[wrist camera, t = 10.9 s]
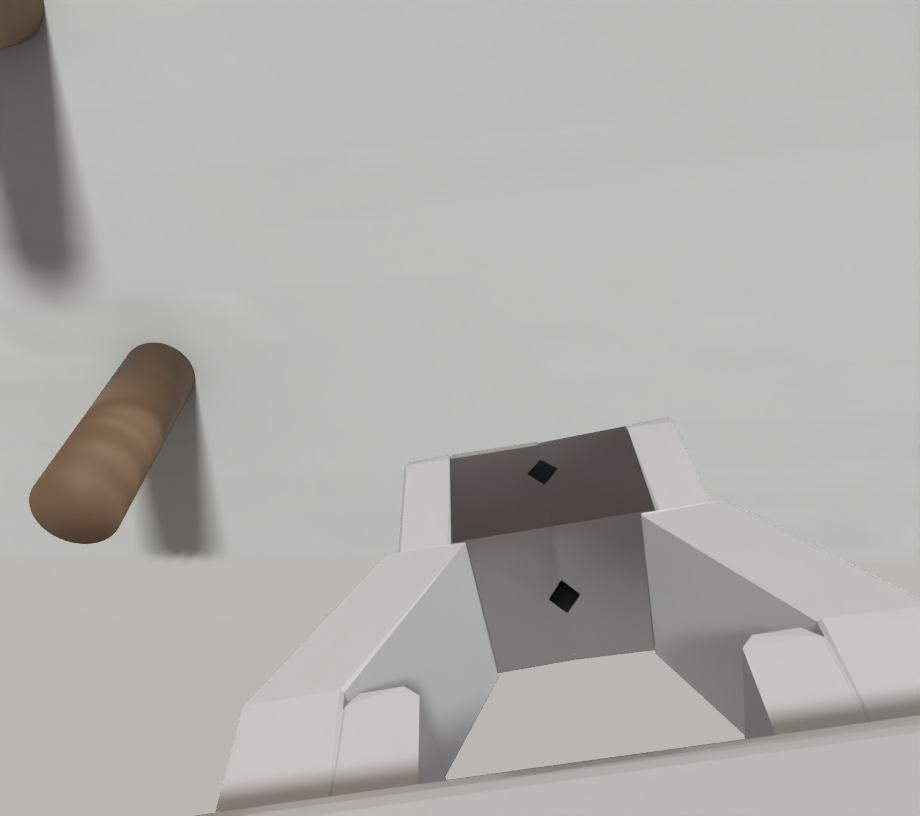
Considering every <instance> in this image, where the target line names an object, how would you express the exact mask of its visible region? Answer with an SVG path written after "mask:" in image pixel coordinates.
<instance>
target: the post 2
mask: <svg viewBox="0 0 920 816" xmlns="http://www.w3.org/2000/svg"><path fill="white" fill-rule="evenodd" d="M194 381H195V375H194V371H193V368H192V366H191V364H190V362H189V361H188V359H187V358H186V357H185V356H184V355H183V354H182V353H181V352H179V351H178V350H176V349H175V348H173V347H171V346H168V345H165V344H161V343H146V344H142V345H140V346H138V347H136V348H134V349H133V350H132V351H131V352H130V353H129V354H128V356H127V357H126V358H125V360H124V361H123V363H122V364H121V365H120V367H119V368H118V370H117V371H116V372H115V374H114V375H113V376H112V378H111V379H110V381H109V382H108V383H107V385H106V386H105V388H104V389H103V390H102V392H101V393H100V395H99V396H98V397H97V399H96V400H95V402H94V403H93V404H92V406H91V407H90V408H89V410H88V411H87V413H86V414H85V415H84V417H83V418H82V420H81V421H80V422H79V424H78V425H77V427H76V428H75V429H74V431H73V432H72V434H71V435H70V436H69V438H68V439H67V440H66V442H65V443H64V445H63V446H62V447H61V449H60V450H59V452H58V453H57V454H56V456H55V457H54V459H53V460H52V461H51V463H50V464H49V465H48V467H47V468H46V470H45V471H44V472H43V474H42V475H41V477H40V478H39V479H38V481H37V482H36V484H35V485H34V486H33V488H32V490H31V493H30V497H29V504H30V508H31V512H32V514H33V516H34V517H35V519H36V520H37V522H38V523H39V524H40V525H41V526H42V527H43V528H44V529H45V530H47V531H48V532H49V533H51V534H52V535H54V536H56V537H58V538H60V539H63V540H65V541H69V542H73V543H80V544H91V543H97V542H100V541H103V540H105V539H107V538H109V537H110V536H112V535H113V534H114V533H115V532H116V531H117V529H118V528H119V526H120V524H121V522H122V520H123V518H124V516H125V515H126V513H127V511H128V509H129V507H130V505H131V503H132V501H133V500H134V498H135V496H136V494H137V492H138V490H139V488H140V486H141V484H142V483H143V481H144V479H145V477H146V475H147V473H148V471H149V469H150V468H151V466H152V464H153V462H154V460H155V458H156V456H157V454H158V453H159V451H160V449H161V447H162V445H163V443H164V441H165V439H166V437H167V436H168V434H169V432H170V430H171V428H172V426H173V424H174V422H175V421H176V419H177V417H178V415H179V413H180V411H181V409H182V407H183V406H184V404H185V402H186V400H187V398H188V396H189V394H190V392H191V390H192V388H193V386H194Z"/></svg>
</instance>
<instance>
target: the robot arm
mask: <svg viewBox="0 0 920 816" xmlns="http://www.w3.org/2000/svg"><path fill="white" fill-rule="evenodd" d="M573 648H574V649H573ZM649 650H655V651H656V654H657V655H658V656H659V657H660V658H661V659H662V660H664V661H665V662H666V663H667V664H668V665H669V666H670V667H671V668H672V669H673V670H674V671H675V672H677V673H678V674H679V675H680V676H681V677H682V678H683V679H684V680H685V681H686V682H688V683H689V684H690V685H691V686H692V687H693V688H694V689H695V690H696V691H697V692H698V693H699V694H701V695H702V696H703V697H704V698H705V699H706V700H707V701H708V702H709V703H710V704H712V705H713V706H714V707H715V708H716V709H717V710H718V711H719V712H720V713H721V714H722V715H723V716H725V717H726V718H727V719H728V720H729V721H730V722H731V723H732V724H733V725H734V726H735V727H737V728H738V729H739V730H740V731H741V732H742V733H743V734H744V735H745V739H742V740H735V741H728V742H720V743H713V744H706V745H698V746H691V747H684V748H677V749H669V750H662V751H655V752H648V753H641V754H633V755H626V756H619V757H611V758H605V759H597V760H589V761H582V762H575V763H568V764H560V765H553V766H546V767H538V768H531V769H524V770H517V771H510V772H502V773H495V774H488V775H481V776H473V777H466V778H459V779H452V780H446V778H445V776H446V774H447V772H448V770H449V768H450V767H451V764H452V763H453V761H454V759H455V757H456V755H457V754H458V752H459V750H460V748H461V746H462V744H463V743H464V741H465V739H466V737H467V735H468V733H469V731H470V730H471V728H472V726H473V724H474V722H475V720H476V718H477V717H478V715H479V713H480V711H481V709H482V707H483V705H484V704H485V702H486V700H487V698H488V696H489V694H490V692H491V691H492V689H493V687H494V685H495V683H496V681H497V680H498V678H499V677H498V673H502V672H507V671H513V670H519V669H524V668H530V667H535V666H541V665H547V664H552V663H558V662H563V661H569V660H575V659H584V658H592V657H600V656H608V655H617V654H625V653H633V652H641V651H649ZM574 653H575V655H574ZM196 816H920V599H919V598H917V597H916V596H914V595H912V594H910V593H908V592H906V591H903V590H901V589H900V588H898V587H895V586H894V585H892V584H890V583H888V582H886V581H884V580H882V579H880V578H878V577H876V576H874V575H872V574H870V573H868V572H866V571H864V570H862V569H860V568H858V567H856V566H854V565H852V564H850V563H848V562H846V561H844V560H842V559H841V558H839V557H837V556H835V555H833V554H831V553H829V552H827V551H825V550H823V549H821V548H819V547H817V546H815V545H813V544H811V543H809V542H807V541H805V540H803V539H801V538H799V537H797V536H795V535H793V534H791V533H789V532H787V531H785V530H783V529H781V528H779V527H777V526H775V525H773V524H771V523H769V522H767V521H765V520H764V519H762V518H760V517H758V516H756V515H754V514H752V513H750V512H748V511H746V510H744V509H742V508H740V507H738V506H736V505H734V504H732V503H730V502H728V501H726V500H721V501H715V502H711V500H710V498H709V496H708V494H707V492H706V489H705V487H704V485H703V483H702V481H701V479H700V476H699V474H698V472H697V470H696V468H695V466H694V464H693V461H692V459H691V457H690V455H689V453H688V451H687V448H686V446H685V444H684V442H683V440H682V438H681V435H680V433H679V431H678V429H677V427H676V425H675V422H674V420H672V419H670V418H669V417H665V418H661V419H656V420H651V421H646V422H641V423H637V424H632V425H627V426H624V427H619V428H614V429H609V430H604V431H599V432H593V433H588V434H583V435H578V436H573V437H568V438H563V439H557V440H552V441H547V442H542V443H538V442H534V443H527V444H521V445H514V446H507V447H501V448H494V449H487V450H481V451H474V452H468V453H461V454H454V455H452V456H451V457H450V456H449V455H446V456H440V457H435V458H429V459H424V460H418V461H413V462H408V464H407V466H406V467H405V469H404V482H403V495H402V509H401V523H400V536H399V550H398V553H394V554H388V555H385V556H384V557H383V558H382V559H381V560H380V562H379V563H378V564H377V565H376V566H375V567H374V568H373V569H372V570H371V571H370V572H369V573H368V574H367V576H366V577H364V579H363V580H362V581H361V582H360V583H359V584H358V585H357V586H356V587H355V588H354V589H353V590H352V591H351V592H350V593H349V594H348V596H347V597H346V598H345V599H344V600H343V601H342V602H341V603H340V604H339V605H338V606H337V607H336V608H335V609H334V610H333V612H331V614H330V615H329V616H328V617H327V618H326V619H325V620H324V621H323V622H322V623H321V624H320V625H319V626H318V627H317V628H316V629H315V631H314V632H313V633H312V634H311V635H310V636H309V637H308V638H307V639H306V640H305V641H304V642H303V643H302V645H300V647H299V648H298V649H297V650H296V651H295V652H294V653H293V654H292V655H291V656H290V657H289V658H288V659H287V660H286V662H284V663H283V665H282V666H281V667H280V668H279V669H278V670H277V671H276V672H275V673H274V674H273V675H272V676H271V677H270V678H269V679H268V680H267V681H266V683H265V684H264V685H263V686H262V687H261V688H260V689H259V690H258V691H257V692H256V693H255V694H254V695H253V696H252V697H251V699H250V700H249V701H248V702H247V703H246V704H245V705H244V706H243V708H242V712H241V716H240V720H239V724H238V728H237V732H236V735H235V739H234V743H233V747H232V751H231V755H230V759H229V762H228V766H227V770H226V774H225V778H224V782H223V785H222V790H221V793H220V797H219V801H218V805H217V809H216V813H211V814H203V815H196Z"/></svg>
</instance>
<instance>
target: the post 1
mask: <svg viewBox="0 0 920 816" xmlns="http://www.w3.org/2000/svg"><path fill="white" fill-rule="evenodd" d="M43 9H44V7H43V0H0V49H2V48H5V47H9V46H12V45H15V44H19V43H22V42H24V41H26V40H28V39H30V38H31V37H32V36H33V35H34V34H35V33H36V32H37V30H38V29H39V27H40V25H41V22H42V19H43Z"/></svg>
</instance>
